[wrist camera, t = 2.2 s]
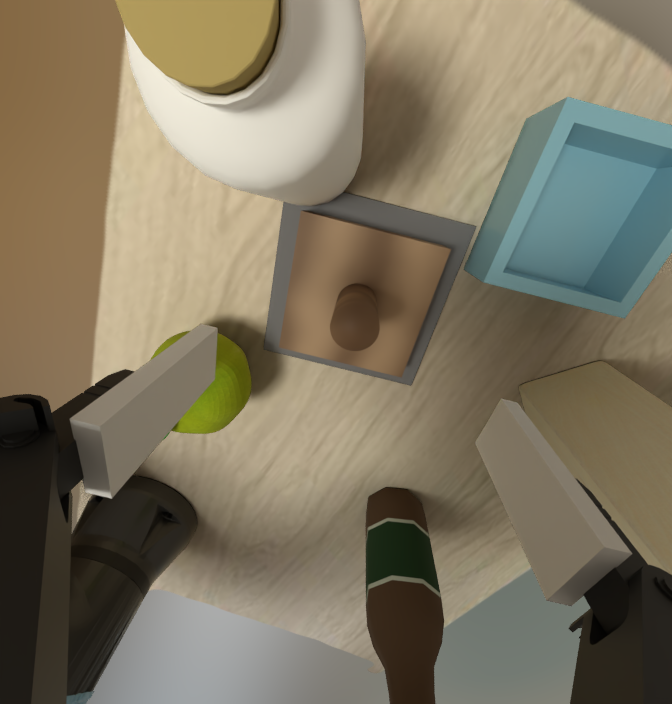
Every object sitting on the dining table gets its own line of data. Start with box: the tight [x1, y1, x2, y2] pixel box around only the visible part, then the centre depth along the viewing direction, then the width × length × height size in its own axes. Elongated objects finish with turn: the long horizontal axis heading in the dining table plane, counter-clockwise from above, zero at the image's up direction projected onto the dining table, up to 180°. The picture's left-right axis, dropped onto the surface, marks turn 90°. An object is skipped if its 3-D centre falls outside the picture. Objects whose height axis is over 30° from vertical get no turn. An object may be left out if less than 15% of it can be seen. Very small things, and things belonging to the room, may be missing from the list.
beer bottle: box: [366, 487, 444, 704], centre depth 30 cm, size 8×8×24 cm
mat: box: [264, 192, 476, 385], centre depth 28 cm, size 16×16×1 cm
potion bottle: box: [115, 0, 366, 206], centre depth 15 cm, size 8×8×18 cm
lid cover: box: [279, 210, 451, 378], centre depth 24 cm, size 12×12×8 cm
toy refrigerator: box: [519, 361, 672, 575], centre depth 22 cm, size 8×7×21 cm
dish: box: [464, 97, 672, 318], centre depth 22 cm, size 11×11×5 cm
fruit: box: [151, 331, 251, 439], centre depth 28 cm, size 9×9×10 cm
